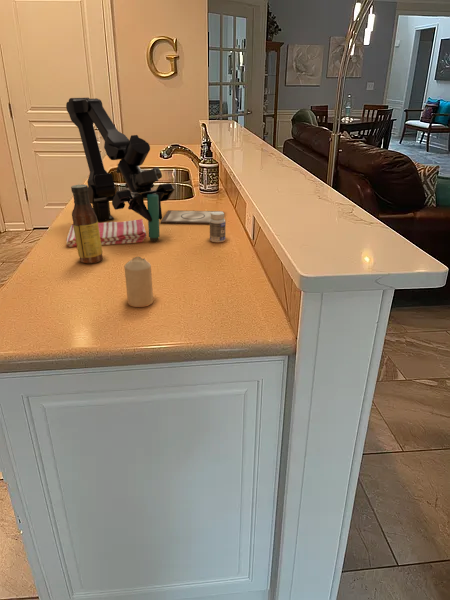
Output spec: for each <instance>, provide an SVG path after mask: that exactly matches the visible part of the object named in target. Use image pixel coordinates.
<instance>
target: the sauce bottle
mask: <svg viewBox="0 0 450 600" xmlns="http://www.w3.org/2000/svg"><path fill="white" fill-rule="evenodd" d="M70 188H71V193H72V195H73V196H72V197H73V203H74V206H73V209H72V211H71V218H72V224H73V227H74V232H75V238H76V244H77V246H76V249H77V255H78V257H79V261H80V263H84V264H96V263H99V262H100V261H102V260H103V245H101V239H100V233H99V226H98V223H99V221H98V220H97V216H96V214H95V212H94V210H93V206H92V204H91V203H90V200H89V195H88V184H84V183H83V184H74V185H71V186H70Z"/></svg>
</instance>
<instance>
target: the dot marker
mask: <svg viewBox="0 0 450 600" xmlns="http://www.w3.org/2000/svg"><path fill="white" fill-rule="evenodd" d="M146 203H147V205H146V208H147V210H148V212H149V214H150V216H151V218H152V221H151V222H149V221H148V220H147V224H148V225H147V226H148V227H147V228H148V238H149V241H150V242H152V243H156V242H159V240H160V236H161V235H160V233H161V232H160V219H159V202H158V195H157V194H148V195H147V198H146Z"/></svg>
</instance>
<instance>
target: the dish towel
mask: <svg viewBox="0 0 450 600" xmlns="http://www.w3.org/2000/svg"><path fill="white" fill-rule="evenodd" d="M98 226H99V233H100V239H101V246H106V245H107V246H110V245H122V244H123V245H125V244H137V243H144V240H146V238H147V235H148V234H147V232H146V227H145V225H144V220H143V218H140V219H132V220H124V221H109V222H107V221H105V222H98ZM65 244H66V246H67V247H69V248H72V247H74V248H75V247H77V244H76V238H75V232H74V227H73V223H72V224H71V225H70V228H69V231H68V233H67V237H66V243H65Z"/></svg>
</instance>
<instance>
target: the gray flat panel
mask: <svg viewBox="0 0 450 600" xmlns="http://www.w3.org/2000/svg"><path fill="white" fill-rule="evenodd" d="M217 211H219V212H224V211H223V210H221V211H220V210H170V209H169V210H167V212H166V213H165V215H164V216H163V217H162V219H161V220H160V224H164V225H165V224H167V225H168V224H169V225H171V224H172V225H210V219H212V218H211V213H212V212H217Z"/></svg>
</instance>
